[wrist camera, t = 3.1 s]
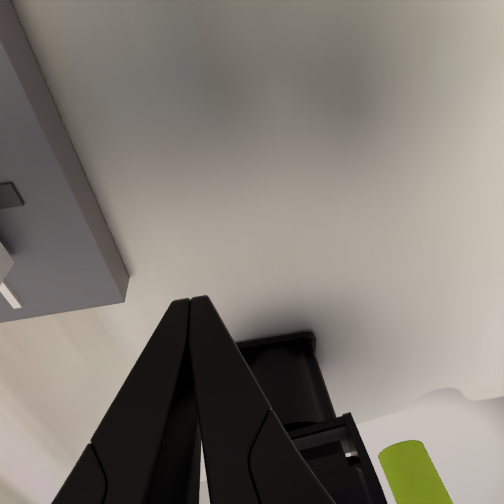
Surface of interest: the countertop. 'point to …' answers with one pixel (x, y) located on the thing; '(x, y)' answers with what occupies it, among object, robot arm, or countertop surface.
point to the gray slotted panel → (46, 199)
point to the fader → (4, 263)
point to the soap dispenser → (412, 474)
